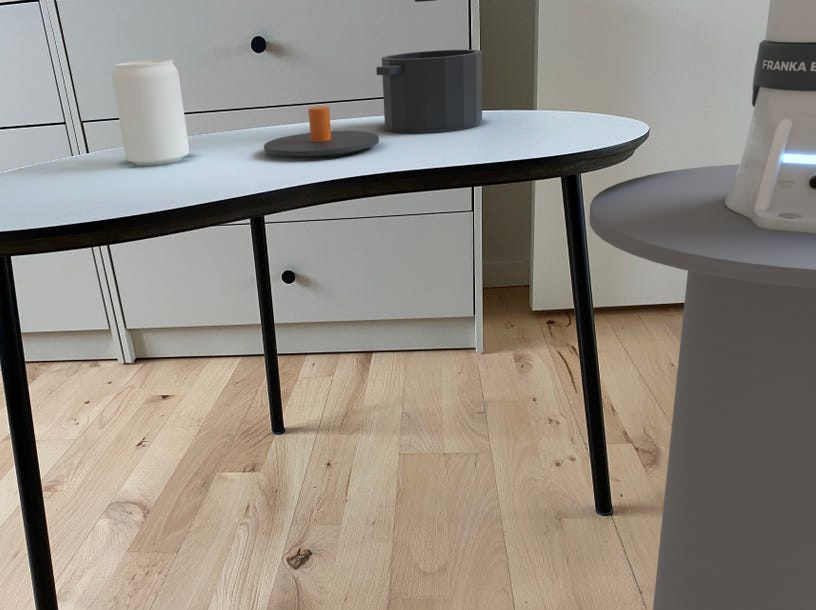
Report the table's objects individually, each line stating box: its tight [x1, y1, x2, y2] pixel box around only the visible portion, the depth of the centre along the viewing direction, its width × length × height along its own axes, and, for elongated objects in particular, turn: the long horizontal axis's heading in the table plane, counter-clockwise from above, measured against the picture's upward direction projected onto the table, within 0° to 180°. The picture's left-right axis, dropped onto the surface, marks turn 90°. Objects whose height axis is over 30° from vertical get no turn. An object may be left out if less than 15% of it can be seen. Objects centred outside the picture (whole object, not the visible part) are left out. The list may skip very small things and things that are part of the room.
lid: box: [263, 105, 380, 159], centre depth 105 cm, size 15×15×5 cm
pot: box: [375, 49, 483, 134], centre depth 116 cm, size 14×19×10 cm
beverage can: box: [111, 58, 190, 166], centre depth 105 cm, size 8×8×12 cm
